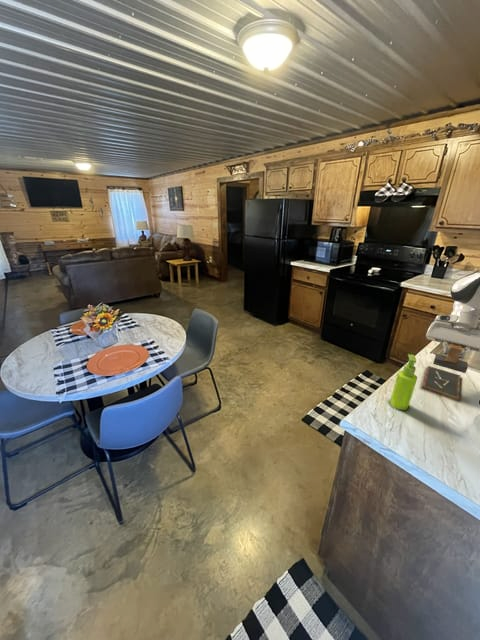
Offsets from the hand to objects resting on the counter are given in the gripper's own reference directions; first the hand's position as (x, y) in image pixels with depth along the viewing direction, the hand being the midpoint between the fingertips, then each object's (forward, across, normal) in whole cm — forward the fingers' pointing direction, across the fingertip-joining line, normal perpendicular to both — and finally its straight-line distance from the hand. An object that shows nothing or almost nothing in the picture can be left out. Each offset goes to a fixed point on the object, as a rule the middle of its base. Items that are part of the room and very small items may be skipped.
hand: (453, 355), depth 100 cm
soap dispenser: (+25, +12, +2) cm, 28 cm away
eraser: (+3, 0, -4) cm, 5 cm away
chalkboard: (+6, 0, -17) cm, 18 cm away
